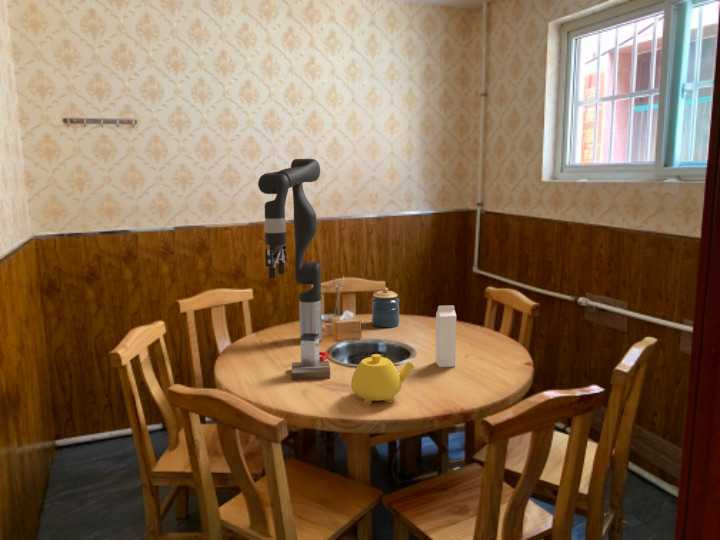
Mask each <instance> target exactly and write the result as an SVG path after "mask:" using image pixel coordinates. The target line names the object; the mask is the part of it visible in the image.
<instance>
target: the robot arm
mask: <svg viewBox="0 0 720 540" xmlns="http://www.w3.org/2000/svg"><path fill="white" fill-rule="evenodd" d="M320 175H321V167H320V163H319V161H317V160H316V159H314V158H294V159H293V160H292V161H291V163H290V167H287V168H284V169H281V170H278V171H274V172H273V171H271V172H266V173H263V174H262V175H260V177H259V178H258V181H257V186H258V187H257V188H258V189H259V190H260V192H261V193H263V194H265V195H276V196H275V198H274V199H273V200H269V201H266V202H265V203H264V243H265V245H266V246H269V249H264V255H265V256H264V259H265V260H264V261H265V262H264V263H265V267H267V268H268V278H269V279H276V278H277V277H276V267H277V270H278V271H277V273H278V275H285V273H286V271H285V268H286V267H285V264H286V262H288V252H287V223H286V222H287V221H286V208H285V207H286V201H287V197H288V196H287V195H288V193H289V189H290V188H292V189H291V190H292V199H293V202H292V203H293V232H294V233H293V234H294V280H295V283H296V284H297V285H312V287H311V288H310V289H308V290H305V291H303V292H300V294H299V295H298V305H299V336H300V337H301V336H302V335H304V334H305V333H312V334H314V327H316V332H317V334H319V342H320V341H322V340H323V326H322V325H323V321H322V320H323V319H322V317H323V314H322V267H321V264H320V263H319V262H317V261H316V262H315V261H314V262H313V261H311V262H308V261H305V262H304V256H305V253H306V250H307V249H308V247H309V245H310V244H311V242H312V240H313V239H314V237H315V236H316V233H317V213H316V211H315V210H314V207H313V205H312V204H311V203H310V202H309V200H308V197H306V196H307V195H306V194H305V191H304V187H303V183H314V182H316V181H318V179H319V178H320ZM276 265H277V266H276ZM300 337H299V338H300Z"/></svg>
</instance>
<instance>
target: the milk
mask: <svg viewBox="0 0 720 540" xmlns="http://www.w3.org/2000/svg"><path fill="white" fill-rule="evenodd" d="M456 349H457V314H456V310H455V305H438V307H437V311H436V313H435V363H436V364H437V366H438V367H439V368H455V367H456V359H457V358H456V352H457V351H456ZM454 366H455V367H454Z"/></svg>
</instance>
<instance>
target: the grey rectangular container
mask: <svg viewBox="0 0 720 540" xmlns="http://www.w3.org/2000/svg"><path fill="white" fill-rule="evenodd" d="M299 338H300V339H299V341H300V362H301V367H317V366H318V365H319V364H320V362H319V357H320V354H319V352H320V341H319V334H312V333H305V334H304V335H302V336H301V337H299Z"/></svg>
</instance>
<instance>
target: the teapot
mask: <svg viewBox="0 0 720 540" xmlns="http://www.w3.org/2000/svg"><path fill="white" fill-rule="evenodd" d="M394 364H395V363H393V362H392V361H391V360H390V359H389V358H387V357H384V356H382V355H381V354H378V353H375V354H373V353H372V354H371V355H370V356H369V357H365V358H363V359H362V360H361V361H360V362H359V363H358V365H357V367H356V368H355V371H354V372H353V374H352V378H351V383H350V387H351V390H352V391H353V393H354V394H355V395H356V396H357V397H359V398H361V399H362V400H363V402H362V404H363V403H364V404H363V405H371V404H373V401H377V402H378V401H384V403H387V404H391V403H394V402H393V401H394V399H393V398H394V397H395V396H397V394H399V392H400V391H401V388H402V383H403V382H404V380H405V379H406V378H407V376H408V375H409V374H410V373H411V371H413V369H414V368H415V364H413V363H412V362H411V361H407V362H406V363H405V365H404V366H403V367H402V369H401V370H400V371H398V370H397V368H396V366H395V365H394Z"/></svg>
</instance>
